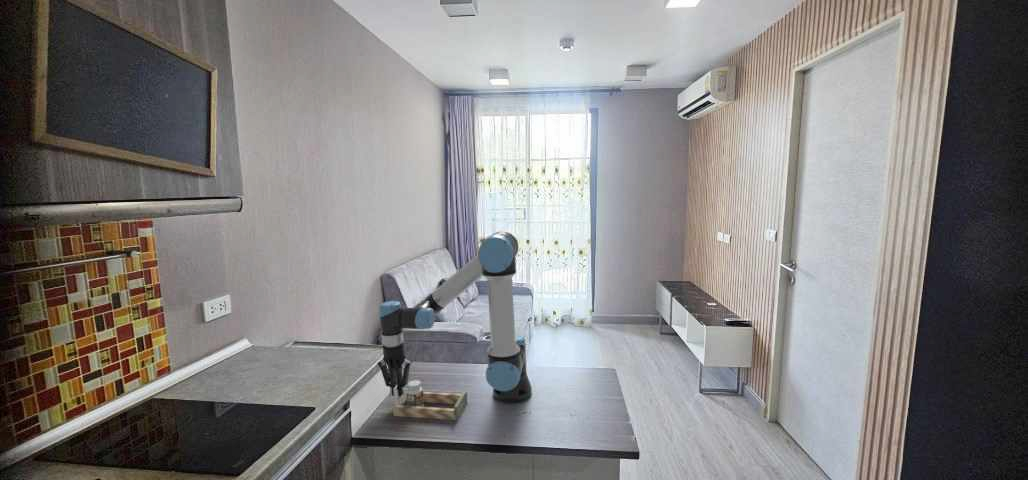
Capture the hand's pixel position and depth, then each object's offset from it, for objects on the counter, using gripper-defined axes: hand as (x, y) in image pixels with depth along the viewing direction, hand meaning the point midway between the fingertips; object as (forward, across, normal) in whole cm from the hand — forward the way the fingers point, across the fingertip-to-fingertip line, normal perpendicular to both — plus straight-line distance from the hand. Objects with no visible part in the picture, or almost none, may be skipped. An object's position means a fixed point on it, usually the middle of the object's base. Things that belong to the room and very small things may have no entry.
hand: (398, 403), depth 149 cm
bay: (+2, -13, 0) cm, 13 cm away
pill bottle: (+2, -7, 0) cm, 7 cm away
